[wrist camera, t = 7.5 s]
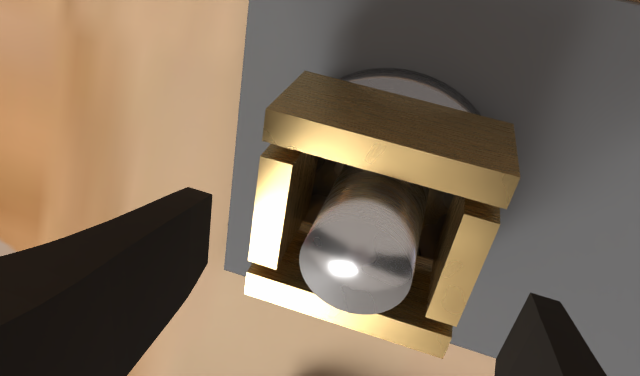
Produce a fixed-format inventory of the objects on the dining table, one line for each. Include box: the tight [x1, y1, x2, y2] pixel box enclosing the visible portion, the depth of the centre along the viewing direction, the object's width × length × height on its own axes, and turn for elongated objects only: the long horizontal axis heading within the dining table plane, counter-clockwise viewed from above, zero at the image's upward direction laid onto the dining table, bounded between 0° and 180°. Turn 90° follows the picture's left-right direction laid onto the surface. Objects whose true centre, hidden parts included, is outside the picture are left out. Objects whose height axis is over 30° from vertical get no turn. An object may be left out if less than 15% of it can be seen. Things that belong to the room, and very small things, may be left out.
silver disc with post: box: [299, 68, 481, 315], centre depth 14 cm, size 6×6×5 cm
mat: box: [224, 0, 640, 376], centre depth 16 cm, size 18×12×1 cm, turn 80°
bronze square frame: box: [244, 71, 520, 359], centre depth 14 cm, size 6×6×3 cm
